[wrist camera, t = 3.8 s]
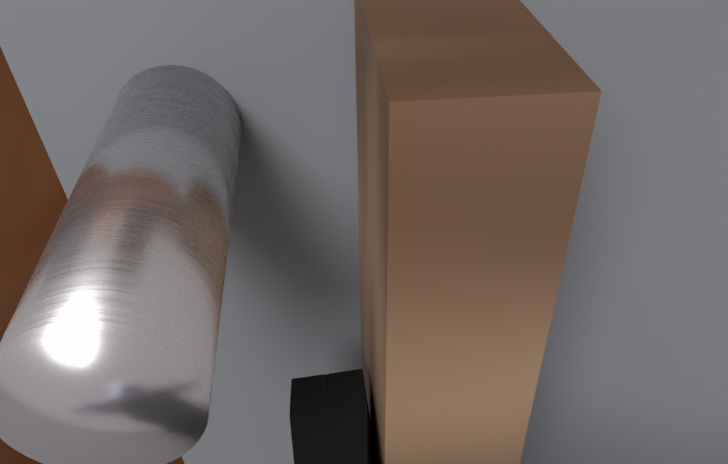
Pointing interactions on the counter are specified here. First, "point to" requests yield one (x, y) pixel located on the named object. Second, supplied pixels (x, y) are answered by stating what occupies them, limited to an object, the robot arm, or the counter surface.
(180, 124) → the hitch post
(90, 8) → the mat
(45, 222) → the counter surface
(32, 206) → the counter surface
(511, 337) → the bar
